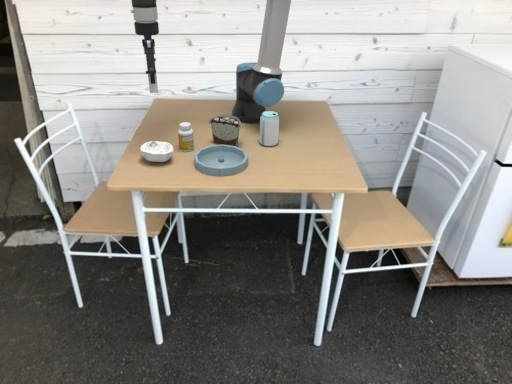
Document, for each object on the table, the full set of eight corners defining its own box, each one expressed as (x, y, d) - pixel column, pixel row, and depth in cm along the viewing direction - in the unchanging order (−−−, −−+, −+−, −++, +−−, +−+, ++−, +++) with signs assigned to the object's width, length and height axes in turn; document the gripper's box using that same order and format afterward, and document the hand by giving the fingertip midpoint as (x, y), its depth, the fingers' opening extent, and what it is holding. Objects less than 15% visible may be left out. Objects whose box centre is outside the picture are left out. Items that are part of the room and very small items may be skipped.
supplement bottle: (179, 145, 152) (177, 121, 147) (194, 145, 152) (193, 121, 147) (178, 152, 147) (176, 127, 142) (193, 152, 148) (192, 126, 143)
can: (268, 138, 160) (269, 108, 154) (281, 143, 156) (283, 113, 150) (255, 143, 156) (256, 113, 150) (268, 149, 152) (270, 118, 145)
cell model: (161, 170, 135) (159, 152, 132) (135, 161, 141) (132, 143, 137) (181, 159, 143) (180, 141, 139) (156, 150, 148) (154, 133, 144)
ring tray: (240, 149, 151) (240, 142, 149) (253, 172, 136) (253, 165, 134) (191, 154, 146) (191, 147, 145) (199, 178, 131) (199, 171, 130)
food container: (245, 142, 156) (246, 117, 151) (240, 148, 151) (240, 123, 146) (216, 137, 160) (215, 112, 154) (209, 143, 155) (209, 118, 149)
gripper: (133, 15, 140) (141, 76, 151) (134, 28, 119) (142, 98, 130) (156, 14, 141) (162, 75, 153) (160, 27, 121) (166, 97, 132)
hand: (153, 86), depth 142 cm, fingers open, 13 cm apart
